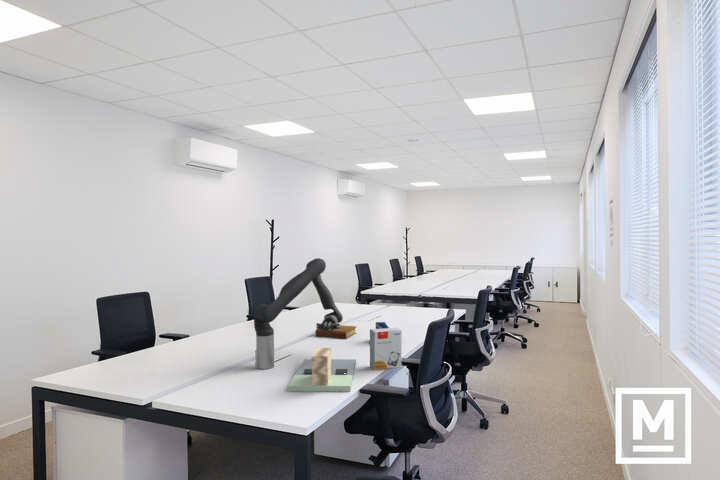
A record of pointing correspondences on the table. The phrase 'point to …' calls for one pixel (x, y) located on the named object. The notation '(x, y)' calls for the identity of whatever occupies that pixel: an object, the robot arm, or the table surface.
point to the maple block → (321, 366)
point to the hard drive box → (385, 348)
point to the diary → (337, 332)
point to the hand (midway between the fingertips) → (325, 328)
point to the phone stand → (381, 325)
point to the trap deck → (337, 379)
